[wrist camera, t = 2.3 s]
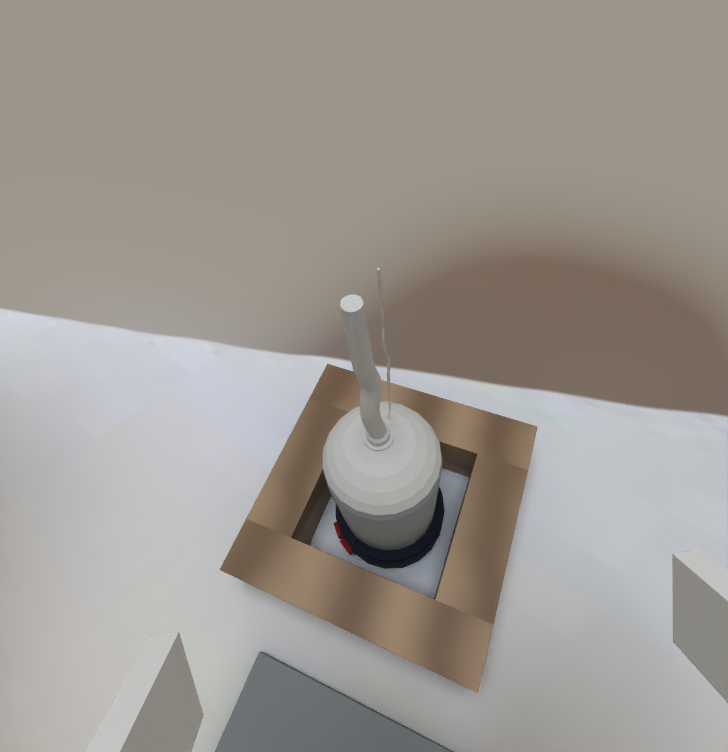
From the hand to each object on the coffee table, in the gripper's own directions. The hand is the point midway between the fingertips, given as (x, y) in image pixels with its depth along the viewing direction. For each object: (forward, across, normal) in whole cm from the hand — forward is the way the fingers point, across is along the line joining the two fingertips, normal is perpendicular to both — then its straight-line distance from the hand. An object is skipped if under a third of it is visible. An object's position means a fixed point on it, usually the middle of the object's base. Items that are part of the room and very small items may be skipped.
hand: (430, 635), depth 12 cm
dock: (+21, 0, -9) cm, 23 cm away
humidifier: (+22, 0, -9) cm, 23 cm away
